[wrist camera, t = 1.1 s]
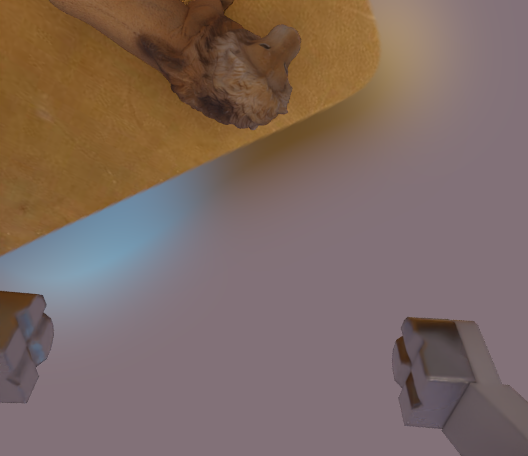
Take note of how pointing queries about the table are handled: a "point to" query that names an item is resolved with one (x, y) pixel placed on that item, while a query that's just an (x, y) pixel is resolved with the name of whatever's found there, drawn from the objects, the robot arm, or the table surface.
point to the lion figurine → (201, 54)
